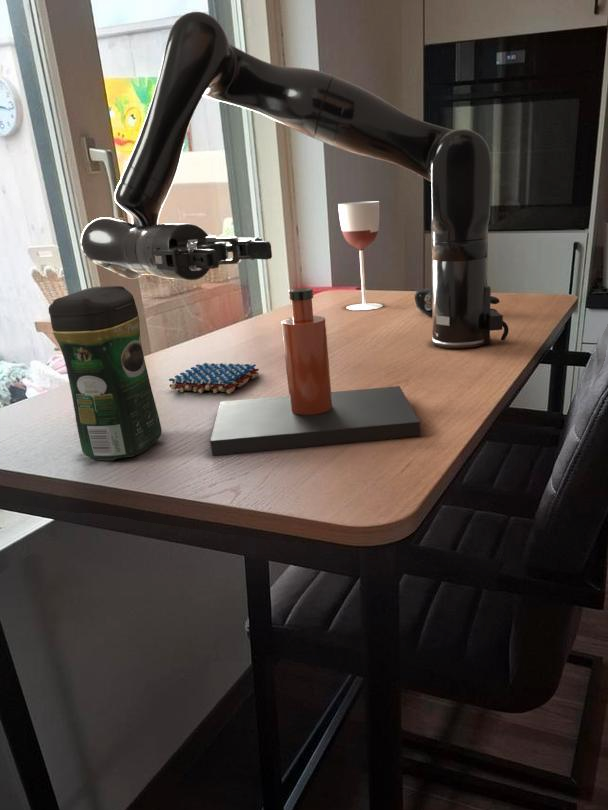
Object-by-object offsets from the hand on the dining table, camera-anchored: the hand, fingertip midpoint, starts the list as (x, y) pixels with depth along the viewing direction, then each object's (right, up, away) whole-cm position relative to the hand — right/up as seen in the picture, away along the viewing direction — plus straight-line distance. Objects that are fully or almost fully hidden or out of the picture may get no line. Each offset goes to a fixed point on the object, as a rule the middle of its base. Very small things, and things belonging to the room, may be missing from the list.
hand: (243, 254), depth 89 cm
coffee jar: (-13, -25, -6) cm, 29 cm away
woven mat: (-7, -14, +18) cm, 24 cm away
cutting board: (+9, -22, -2) cm, 24 cm away
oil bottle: (+9, -20, -2) cm, 22 cm away
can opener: (+35, +5, +55) cm, 65 cm away
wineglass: (+16, +11, +70) cm, 73 cm away
